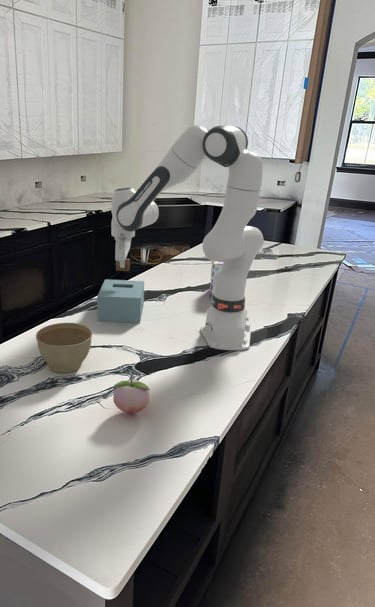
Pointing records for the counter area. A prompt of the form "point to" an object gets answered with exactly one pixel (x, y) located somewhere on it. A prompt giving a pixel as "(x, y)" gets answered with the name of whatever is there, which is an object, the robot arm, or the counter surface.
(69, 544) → the counter surface
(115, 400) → the decorative fruit
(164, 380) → the counter surface
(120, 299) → the box
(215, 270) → the candy box
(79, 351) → the planter bowl
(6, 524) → the counter surface
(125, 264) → the brown rectangular block
